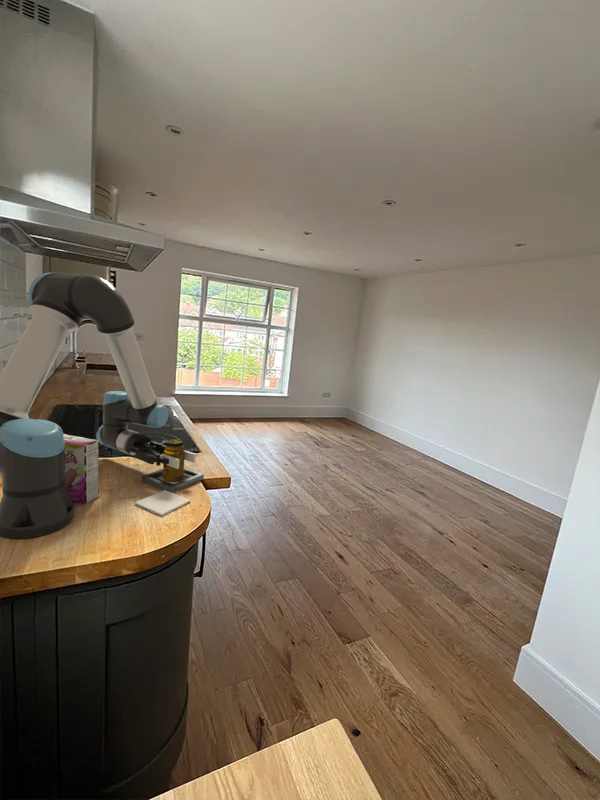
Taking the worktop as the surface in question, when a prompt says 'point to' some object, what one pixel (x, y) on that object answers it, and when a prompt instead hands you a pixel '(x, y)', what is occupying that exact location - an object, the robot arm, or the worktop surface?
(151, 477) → the socket
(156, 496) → the tile
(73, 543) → the worktop surface
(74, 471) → the candy bar box
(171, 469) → the condiment
